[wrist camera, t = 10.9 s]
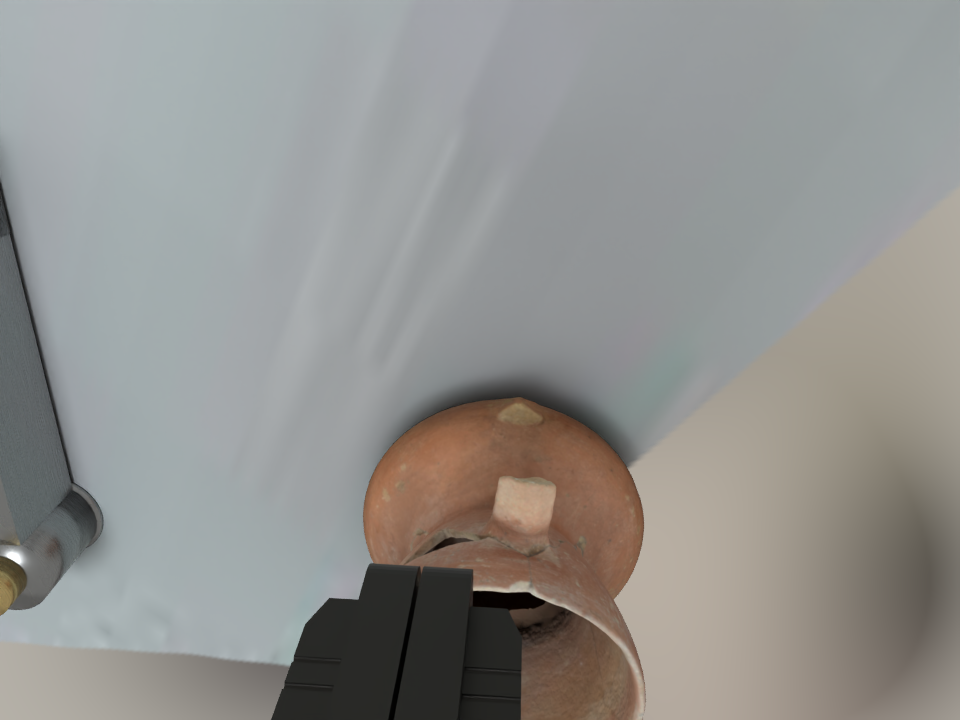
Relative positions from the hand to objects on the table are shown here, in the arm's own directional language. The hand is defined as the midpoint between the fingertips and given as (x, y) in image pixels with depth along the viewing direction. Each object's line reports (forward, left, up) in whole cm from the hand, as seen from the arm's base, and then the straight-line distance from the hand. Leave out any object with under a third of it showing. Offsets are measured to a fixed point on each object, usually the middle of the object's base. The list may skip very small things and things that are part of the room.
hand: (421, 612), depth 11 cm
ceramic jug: (+18, +1, -27) cm, 32 cm away
